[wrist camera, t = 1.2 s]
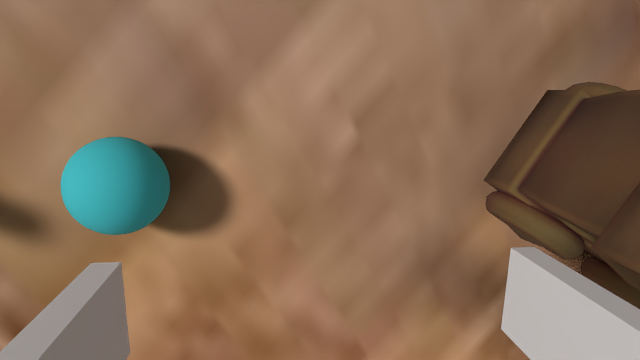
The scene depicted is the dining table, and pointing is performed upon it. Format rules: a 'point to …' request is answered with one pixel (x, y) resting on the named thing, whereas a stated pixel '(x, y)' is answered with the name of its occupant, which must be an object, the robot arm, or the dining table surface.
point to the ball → (115, 185)
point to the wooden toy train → (578, 182)
